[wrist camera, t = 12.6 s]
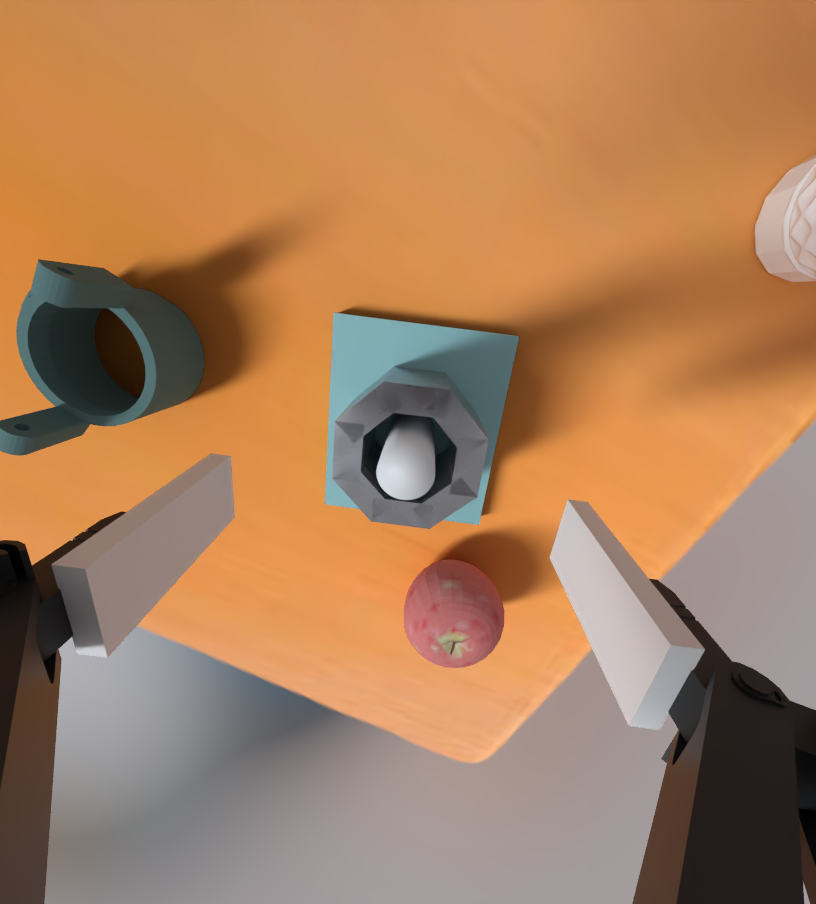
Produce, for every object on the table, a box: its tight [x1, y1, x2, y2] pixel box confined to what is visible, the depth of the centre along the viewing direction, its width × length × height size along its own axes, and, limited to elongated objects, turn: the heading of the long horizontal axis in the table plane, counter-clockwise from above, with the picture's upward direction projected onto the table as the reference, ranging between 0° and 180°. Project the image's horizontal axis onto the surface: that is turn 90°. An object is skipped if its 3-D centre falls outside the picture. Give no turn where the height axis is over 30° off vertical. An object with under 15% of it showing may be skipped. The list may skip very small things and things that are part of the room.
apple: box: [404, 559, 504, 668], centre depth 29 cm, size 7×7×8 cm
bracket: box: [0, 260, 204, 455], centre depth 23 cm, size 9×9×9 cm
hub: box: [332, 366, 489, 529], centre depth 24 cm, size 8×8×6 cm
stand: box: [325, 313, 519, 525], centre depth 23 cm, size 14×12×9 cm
